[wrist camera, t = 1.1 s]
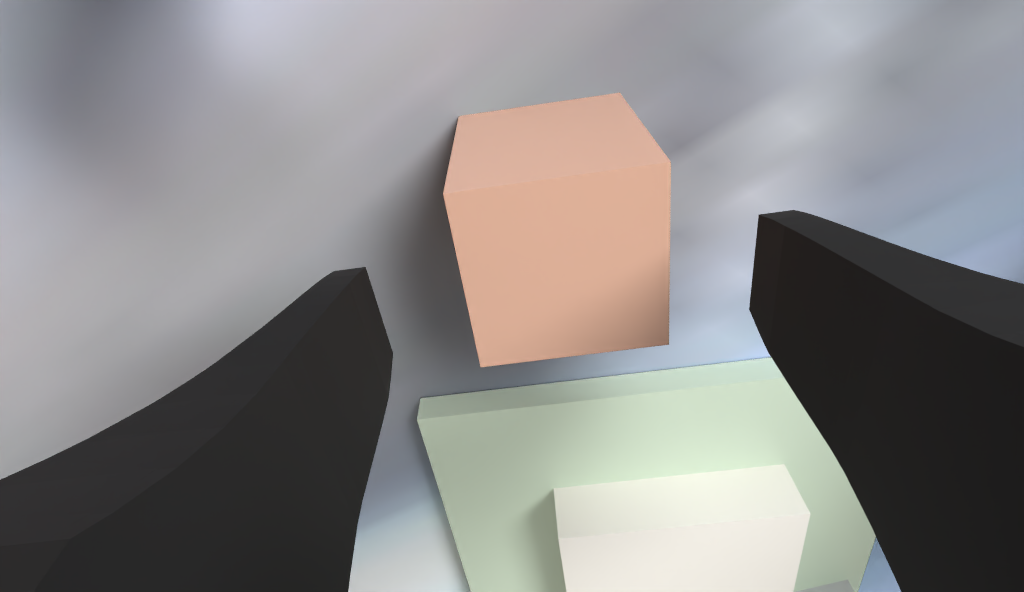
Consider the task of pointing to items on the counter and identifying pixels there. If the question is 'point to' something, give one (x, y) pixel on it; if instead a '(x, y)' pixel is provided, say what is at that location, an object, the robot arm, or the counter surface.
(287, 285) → the counter surface
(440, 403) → the baseplate
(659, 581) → the cream square slab
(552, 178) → the salmon pink block
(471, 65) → the counter surface
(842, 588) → the grey brick
